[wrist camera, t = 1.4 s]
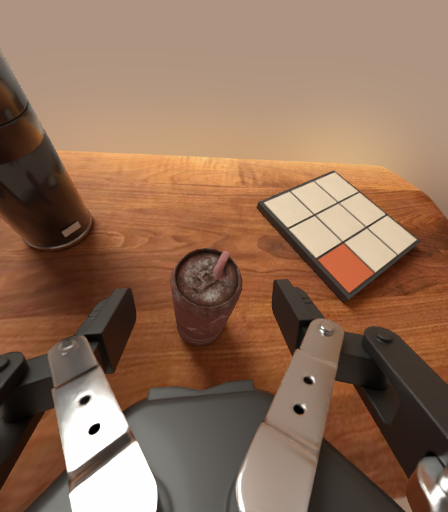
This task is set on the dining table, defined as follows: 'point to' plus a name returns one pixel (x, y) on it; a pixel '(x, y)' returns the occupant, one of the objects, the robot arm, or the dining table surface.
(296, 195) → the board
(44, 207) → the robot arm
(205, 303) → the can
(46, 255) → the dining table surface
